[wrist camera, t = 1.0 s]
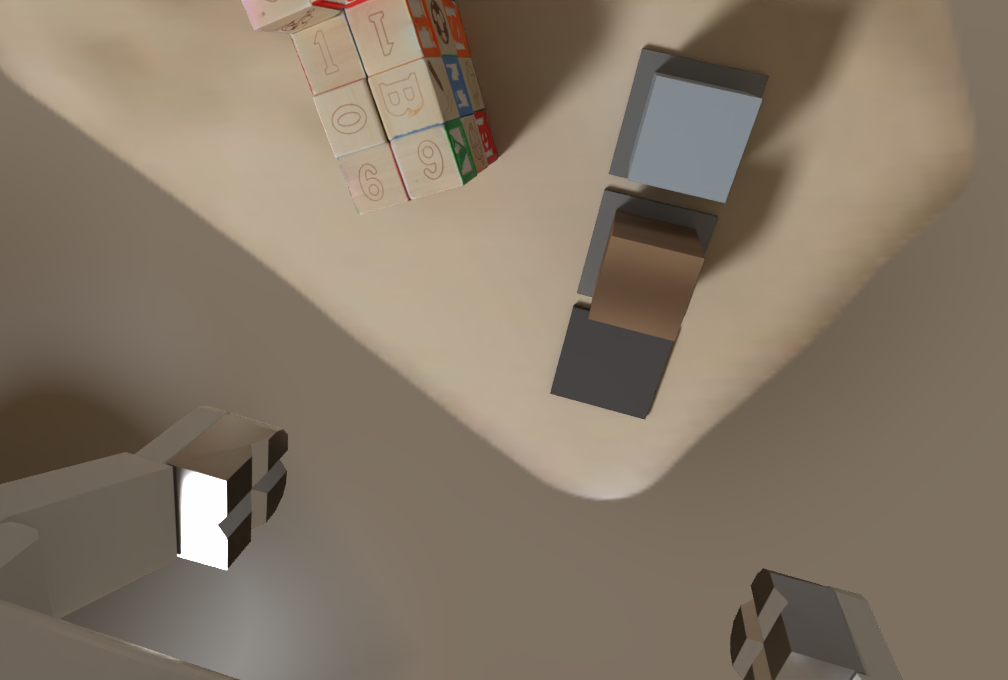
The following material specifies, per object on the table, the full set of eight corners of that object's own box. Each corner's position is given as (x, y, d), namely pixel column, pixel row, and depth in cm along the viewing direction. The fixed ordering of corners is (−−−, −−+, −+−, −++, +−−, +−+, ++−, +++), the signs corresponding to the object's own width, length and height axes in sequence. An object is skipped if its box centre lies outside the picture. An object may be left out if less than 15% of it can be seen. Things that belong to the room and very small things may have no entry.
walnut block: (615, 209, 38) (611, 235, 32) (695, 229, 37) (704, 258, 32) (595, 283, 40) (588, 318, 35) (670, 302, 40) (674, 341, 34)
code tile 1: (604, 189, 38) (604, 190, 37) (717, 215, 37) (717, 217, 37) (577, 291, 41) (577, 293, 41) (680, 318, 40) (680, 320, 40)
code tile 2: (642, 48, 34) (642, 48, 34) (767, 75, 33) (768, 76, 33) (609, 173, 37) (608, 173, 37) (723, 200, 37) (723, 201, 36)
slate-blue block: (654, 72, 34) (657, 75, 29) (743, 91, 34) (762, 98, 28) (629, 161, 36) (627, 180, 31) (712, 180, 36) (725, 203, 31)
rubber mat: (573, 304, 41) (573, 307, 41) (675, 331, 41) (676, 333, 40) (550, 390, 45) (550, 393, 44) (645, 416, 44) (645, 419, 44)
